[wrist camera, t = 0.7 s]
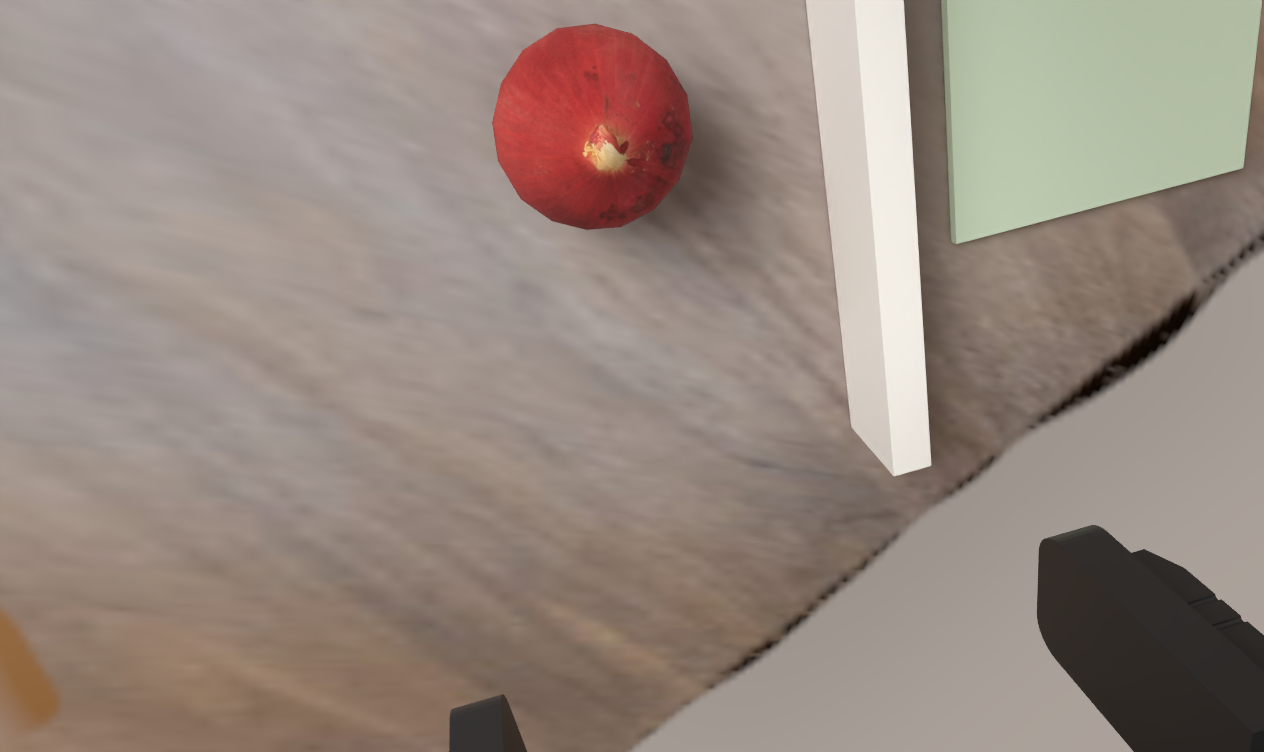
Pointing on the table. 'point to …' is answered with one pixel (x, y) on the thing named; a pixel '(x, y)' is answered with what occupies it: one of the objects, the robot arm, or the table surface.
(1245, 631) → the robot arm
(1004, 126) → the mat
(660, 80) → the onion
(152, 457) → the table surface
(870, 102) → the low wall
